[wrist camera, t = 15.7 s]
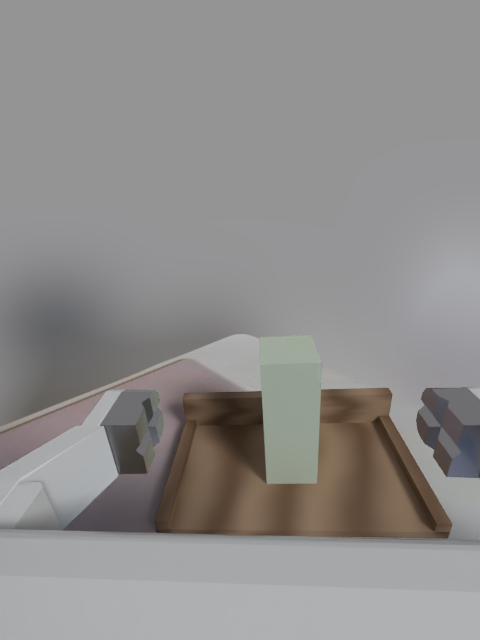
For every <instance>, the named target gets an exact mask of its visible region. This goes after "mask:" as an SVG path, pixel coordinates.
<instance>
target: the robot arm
mask: <svg viewBox="0 0 480 640" xmlns="http://www.w3.org/2000/svg"><path fill="white" fill-rule="evenodd" d="M421 400H422V401H423V403H424V405H425V406H423V407H422V408H421V409H420V410H419V411H418V414H417V419H416V422H417V430H418V432H419V435H420V437H421V439H422V440H423V442H424V443H425V444H426V445H428V446H429V447H431V448H432V449H434V454H433V457H434V459H435V460H436V462H437V463H438V465H439V466H440V468H441V469H442V471H443V472H444V474H445V475H446V477H465V478H480V387H462V388H426V389H425V390H424V392H423V394H422V398H421ZM159 402H160V399H159V395H158V392H157V391H156V390H108V391H106V392H105V394H104V395H103V396H102V398H101V399H100V400H99V402H98V403H97V404H96V406H95V407H94V408H93V410H92V411H91V413H90V414H89V415H88V417H87V418H86V419H85V421H84V422H83V423H82V425H81V426H75V427H73V428H71V429H69V430H68V431H66V432H64V433H63V434H61V435H59V436H58V437H56V438H54V439H52V440H51V441H49V442H47V443H46V444H44V445H42V446H41V447H39V448H37V449H35V450H34V451H32V452H30V453H29V454H27V455H25V456H23V457H22V458H20V459H18V460H17V461H15V462H13V463H12V464H10V465H8V466H6V467H5V468H3V469H1V470H0V640H480V541H474V540H431V539H388V538H347V537H306V536H266V535H225V534H184V533H143V532H101V531H63V529H64V528H65V527H66V526H67V525H68V524H69V523H70V522H71V521H72V520H74V519H75V518H76V517H77V516H78V515H79V514H80V513H81V512H82V511H83V510H84V509H85V508H86V507H87V506H88V505H89V504H90V503H91V502H92V501H93V500H94V499H95V498H96V497H97V496H98V495H99V494H100V493H101V492H102V491H103V490H105V489H106V488H107V487H108V486H109V485H110V484H111V483H112V482H113V481H114V480H115V479H116V478H117V477H118V476H119V474H147V473H148V471H149V468H150V465H151V463H152V460H153V458H154V455H155V453H154V449H153V447H154V446H156V445H157V444H158V443H159V442H160V439H161V436H162V431H163V414H162V411H161V410H160V409H159V408H157V406H158V404H159Z"/></svg>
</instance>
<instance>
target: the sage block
mask: <svg viewBox="0 0 480 640" xmlns="http://www.w3.org/2000/svg"><path fill="white" fill-rule="evenodd" d="M260 370H261V388H262V407H263V425H264V444H265V462H266V480H267V484H317V473H318V449H319V425H320V400H321V376H322V361H321V359H320V356H319V353H318V351H317V348H316V345H315V343H314V340H313V338H312V336H311V335H305V336H280V337H260Z"/></svg>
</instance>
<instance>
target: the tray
mask: <svg viewBox="0 0 480 640" xmlns="http://www.w3.org/2000/svg"><path fill="white" fill-rule="evenodd" d="M391 399H392V393H391V391H390V390H389V389H388V388H365V389H328V390H321V400H320V425H319V449H318V473H317V484H267V480H266V462H265V444H264V425H263V407H262V391H254V392H217V393H185V394H184V397H183V405H184V410H185V415H186V422H185V426H184V429H183V432H182V435H181V438H180V442H179V445H178V448H177V451H176V455H175V458H174V461H173V464H172V467H171V471H170V474H169V477H168V480H167V483H166V487H165V490H164V493H163V496H162V500H161V503H160V506H159V509H158V512H157V516H156V519H155V525H156V529H157V532H158V533H184V534H225V535H266V536H306V537H391V538H448V536H449V533H450V530H451V527H452V523H451V521H450V519H449V518H448V516H447V514H446V513H445V511H444V509H443V507H442V506H441V504H440V502H439V501H438V499H437V497H436V495H435V494H434V492H433V490H432V489H431V487H430V485H429V483H428V482H427V480H426V478H425V477H424V475H423V473H422V471H421V470H420V468H419V466H418V465H417V463H416V461H415V459H414V458H413V456H412V454H411V453H410V451H409V449H408V448H407V446H406V444H405V442H404V441H403V439H402V437H401V436H400V434H399V432H398V430H397V429H396V427H395V425H394V424H393V422H392V420H391V418H390V417H389V412H390V406H391Z"/></svg>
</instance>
